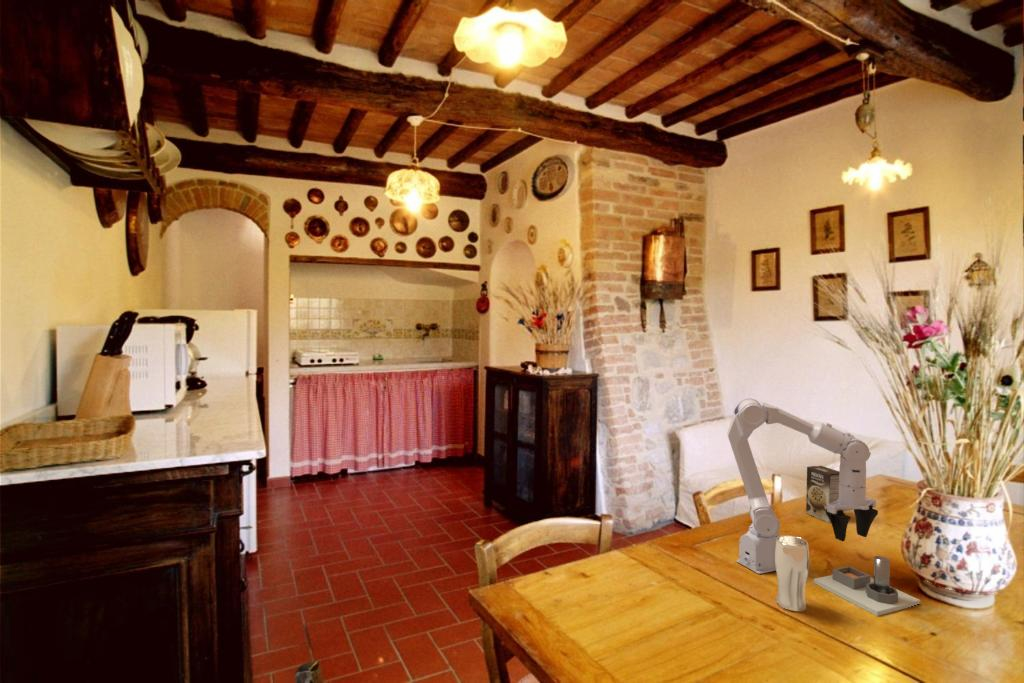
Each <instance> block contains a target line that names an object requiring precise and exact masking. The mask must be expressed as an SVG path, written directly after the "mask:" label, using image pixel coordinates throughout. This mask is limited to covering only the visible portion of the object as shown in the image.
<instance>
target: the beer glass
mask: <svg viewBox="0 0 1024 683" xmlns="http://www.w3.org/2000/svg"><path fill="white" fill-rule="evenodd" d="M809 553H810V551H809V542H808V540H806V539H804V538H802V537H799V536H796V535H795V536H794V535H790V534H781V535H779V536H778V537H776V545H775V567H776V571H775V572H776V578H777V585H778V590H777V596H776V601H775V603H776V602H777V603H778V604H779V605H780V606H781V607H783V608H785V609H789V610H794V611H803V612H805V611H806V610H807V605H806V604H807V603H806V599H805V591H806V590H805V588H806V586H807V585H806V583H807V580H808V575H809V569H810V554H809ZM777 603H776V604H777ZM781 607H780V608H781ZM783 608H782V609H783ZM785 609H784V610H785ZM804 610H805V611H804Z"/></svg>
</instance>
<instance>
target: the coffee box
mask: <svg viewBox="0 0 1024 683" xmlns="http://www.w3.org/2000/svg"><path fill="white" fill-rule="evenodd" d="M839 471H840V470H836V469H833V468H829V467H826V466H823V465H812V466H807V467H806V497H805V501H806V504H805V514H806V513H808V514H810V515H809V516H811V515H812V517H813V516H814V518H815V517H816V519H819V520H820V519H821V520H820V521H822V520H823V521H822V522H825V523H827V524H831V522H830V519H829V518H828V516H827V514H826V509H827V504H830V503H832V502H834V501H836V500H838V499H839ZM808 514H807V515H808Z"/></svg>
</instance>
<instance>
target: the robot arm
mask: <svg viewBox="0 0 1024 683" xmlns="http://www.w3.org/2000/svg"><path fill="white" fill-rule="evenodd" d="M764 423H765V424H766V425H772V424H780V425H782V426H785V427H787V428H790V429H792V430H794V431H797V432H799V433H802V434H804V435H807V437H808V439H809V442H810V443H812V444H813V445H816V446H818V447H821V448H823V449H825V450H827V451H829V452H831V453H833V454H839V455H840V456H839V458H840V461H839V470H838V471H839V499H838V500H836V501H834V502H832V503H830V504H827V509H826V514H827V516H828V518H829V519H830V522H831V523H830V524H831V527H832V529H833V530H832V531H833V534H834V537H835V539H836V540H838V541H841V542H845V540H846V537H847V529H848V525H849V522H850V520H851V518H852V517H851V516H849V515H846V514H845V512H847V511H853V512H854V517H855V524H856V526H855V527H856V528H855V530H856V534H857V535H858V536H861V537H863V538H867V537H868V535H869V531H870V528H871V525H872V523H873V521H874V519H875V518H876V517H877V516H878V514H879V510H878V509H876V507H877V500H876V499H874V498H870V497H866V492H867V490H866V489H867V488H866V487H867V461H868V460H869V459H870V457H871V452H870V448H869V447H868V444H866V443H865V442H863V441H862V440H860V439H859V438H857V437H855V435H852V433H850V432H848V431H846V432H843V431H841V430H839V429H836V428H834V427H833V425H832V424H831V423H829V422H825V423H823V422H816V423H811V422H808V421H806V420H805V419H802V418H800V417H798V416H796V415H795V414H792V413H790V412H787V411H786V410H784V409H781V408H779V407H777V406H775V405H772V404H769V403H766V402H763V401H761V402H759V401H758V400H757V399H755V398H752V397H751V398H749V397H748V398H744V399H743V400H741V401H739V402H738V404H737V405H736V407H734V408H733V412H732V417H731V420H730V423H729V426H728V428H727V438H728V440H729V444H730V446H731V449H732V452H733V455H734V459H735V462H736V465H737V468H738V471H739V474H740V477H741V480H742V483H743V487H744V489H745V494H746V496H747V498H748V502H749V511H748V512H749V517H750V519H751V521H752V523H751V524H750V525H749V527H748V531H747V532H746V533H745V534H743V535H741V536H740V537H739V542H738V544H739V545H738V549H739V550H738V551H739V552H738V559H736V562H737V563H739V564H740V565H742V566H743V567H746V568H747V569H749V570H751V571H752V572H755V573H757V574H758V575H760V574H761V575H762V574H765V573H770V572H774V571H775V572H776V567H775V545H776V537H778V536H780V532H779V531H780V528H781V524H780V520H779V518H778V517H777V516H776V514H775V510H774V508H773V506H771V504H770V503H769V500H768V498H767V495H766V491H765V489H764V486H763V482H762V480H761V476H760V474H759V470H758V467H757V465H756V461H755V458H754V455H753V453H752V449H751V446H750V442H749V437H750V436H752V433H753V432H754V431H755V430H756V429H758V428H760V427H761V426H762V425H763V424H764Z"/></svg>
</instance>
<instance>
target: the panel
mask: <svg viewBox="0 0 1024 683" xmlns="http://www.w3.org/2000/svg"><path fill="white" fill-rule="evenodd" d="M846 573H852V574H854V575H856V576H858V577H855V578H852V577H850V576H848V575H846ZM813 584H815V585H817V586H819V587H820V588H823V589H825V590H827V591H829V592H830V593H832V594H834V595H836V596H838V597H840V598H842V599H844V600H846V601H847V602H849V603H851V604H854V605H855V606H858V607H859V608H860V609H862V610H865V611H867V612H869V613H871V614H873V615H874V616H876V617H879V616H883V615H886V614H890V613H894V612H898V611H900V610H901V611H902V610H905V609H909V608H912V607H911V606H913V607H915V606H914V605H916V606H918V605H917V604H920V605H921V599H919V598H917V597H914V596H912V595H910V594H908V593H905V592H904V591H901V590H899V589H897V588H894V586H893V587H892V586H891V585H889V594H884V593H878V592H876V591H874V577H872V576H871V575H870V574H868V573H866V572H864V571H861V570H860V569H857V568H855V567H852V566H850V565H846V566H842V567H838V568H832V574H831V575H826V576H825V575H824V576H821V577H815V578H814V579H813ZM908 607H909V608H908Z"/></svg>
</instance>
